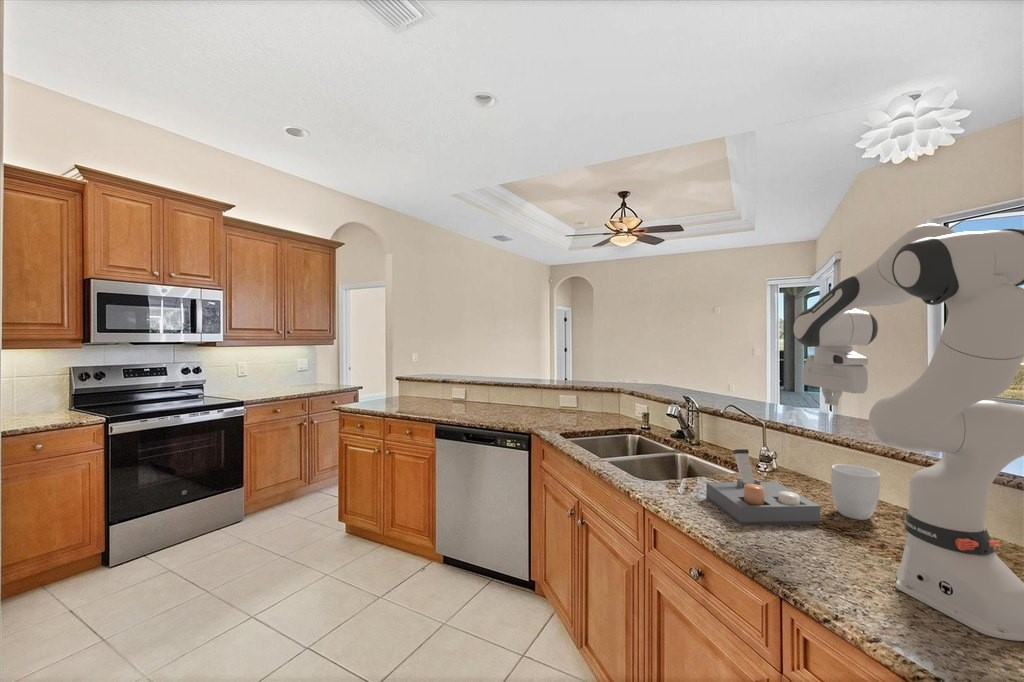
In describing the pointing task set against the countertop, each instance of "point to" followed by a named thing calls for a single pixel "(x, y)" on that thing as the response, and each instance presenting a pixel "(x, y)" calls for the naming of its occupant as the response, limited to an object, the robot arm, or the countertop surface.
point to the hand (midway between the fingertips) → (831, 404)
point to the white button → (789, 498)
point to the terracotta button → (754, 494)
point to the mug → (855, 490)
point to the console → (770, 513)
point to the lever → (744, 466)
